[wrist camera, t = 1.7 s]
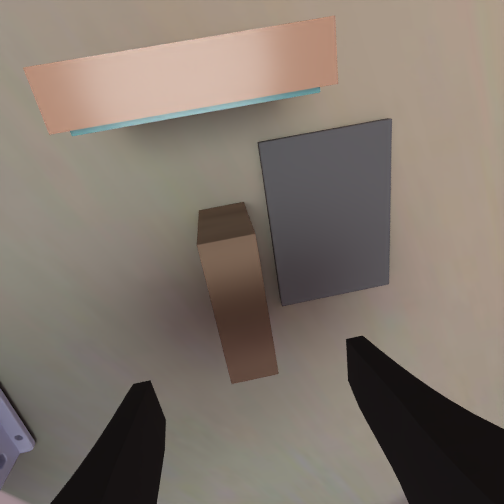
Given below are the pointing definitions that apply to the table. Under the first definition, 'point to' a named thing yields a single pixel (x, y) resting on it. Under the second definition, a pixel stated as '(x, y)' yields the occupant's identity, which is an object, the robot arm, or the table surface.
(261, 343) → the bronze rectangular prism
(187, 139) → the table surface
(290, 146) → the mat
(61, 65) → the picture frame
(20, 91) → the table surface
